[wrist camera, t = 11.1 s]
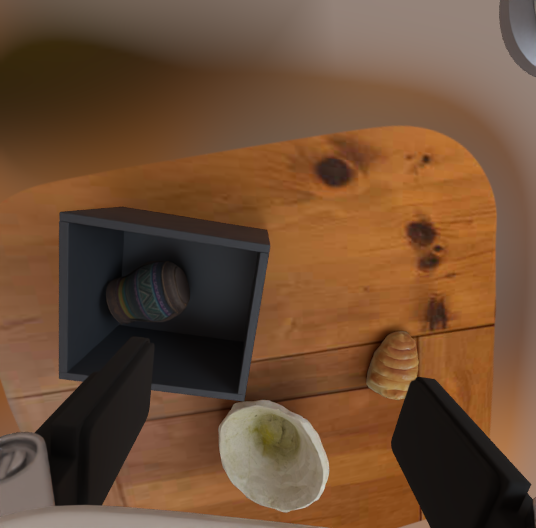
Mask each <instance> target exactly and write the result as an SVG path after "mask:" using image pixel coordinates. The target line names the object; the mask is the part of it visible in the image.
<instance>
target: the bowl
mask: <svg viewBox="0 0 536 528" xmlns="http://www.w3.org/2000/svg"><path fill="white" fill-rule="evenodd" d="M218 430H219V450H220V456H221V461H222V465H223V468H224V469H225V471H226V473H227V475H228V477H229V479H230V480H231V482H232V483H233V484H234V485H235V486H236V487H237V488H238V489H240V490H241V491H242V492H243V493H244V494H245V495H246V497H247V498H249V499H250V500H252V501H254V502H256V503H258V504H260V505H262V506H266V507H270V508H274V509H276V510H279V511H282V512H289V511H291V510H296V509H301V508H305V507H307V506H309V505H310V504H311V503H313V502H314V501H316V500H318V499H319V498H320V496H321V494H322V493H323V491H324V488H325V484H326V482H327V478H328V475H329V462H328V458H327V456H326V453H325V450H324V448H323V446H322V443H321V440H320V438H319V435H318V433H317V432H316V431H315V430H314V428H313V427H312V425H311V424H310V422H309V421H308V420H307V419H304V418H303V417H302V416H300V415H298V414H295V413H293V412H291V411H289V410H288V409H286V408H285V407H283V406H282V405H279V404H277V403H274V402H271V401H270V400H257V401H245V402H243V401H242V402H238V403H235V404H233V407H232V409H231V410H230V411H229V413H228V414H227V416H226V418H224V419H223V421H222V423H221V424H220V426H219V428H218Z"/></svg>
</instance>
